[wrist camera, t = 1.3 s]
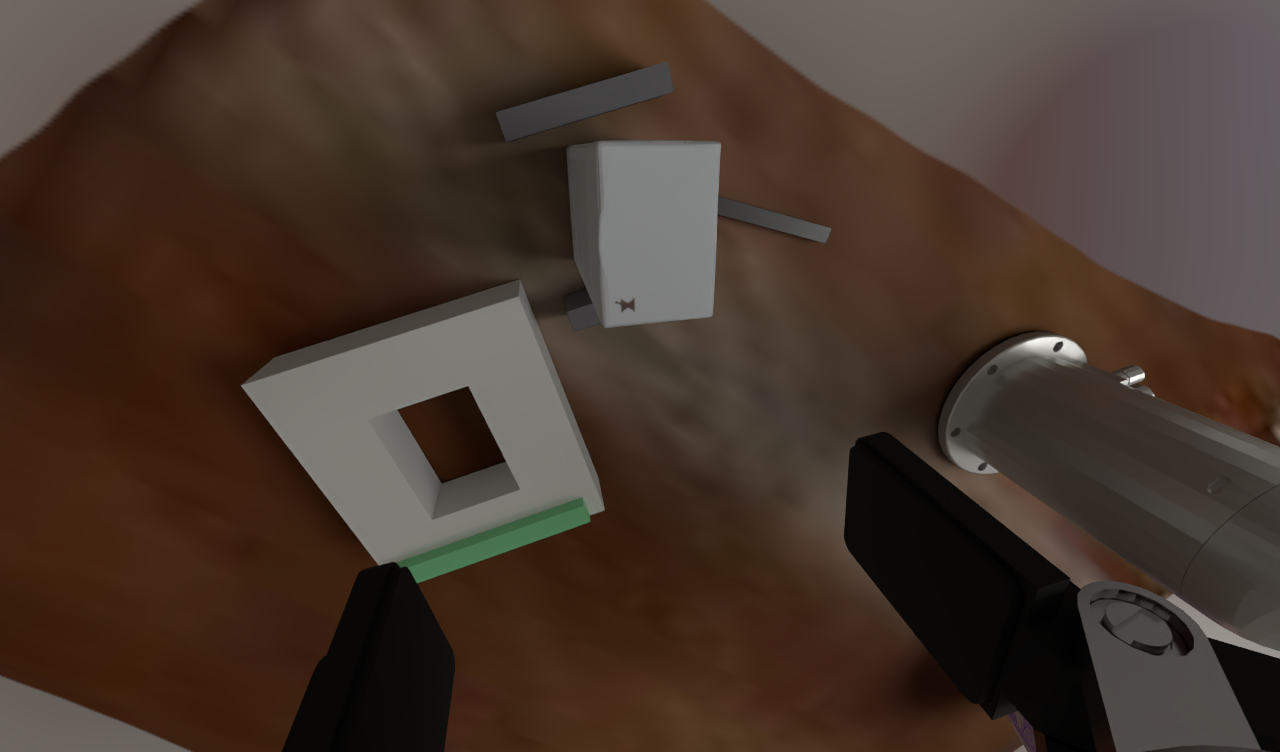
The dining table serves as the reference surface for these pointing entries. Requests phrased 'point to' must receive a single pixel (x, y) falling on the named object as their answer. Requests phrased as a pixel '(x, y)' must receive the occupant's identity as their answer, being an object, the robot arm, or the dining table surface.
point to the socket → (391, 458)
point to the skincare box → (645, 227)
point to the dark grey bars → (608, 99)
